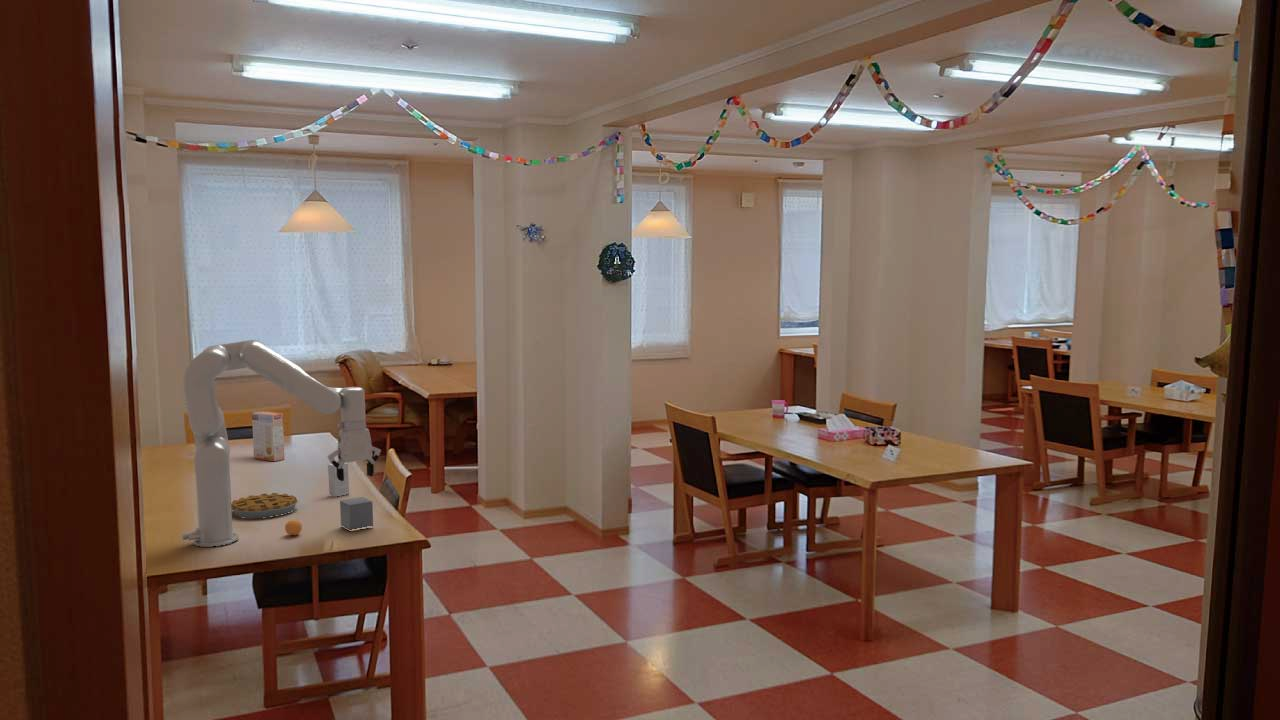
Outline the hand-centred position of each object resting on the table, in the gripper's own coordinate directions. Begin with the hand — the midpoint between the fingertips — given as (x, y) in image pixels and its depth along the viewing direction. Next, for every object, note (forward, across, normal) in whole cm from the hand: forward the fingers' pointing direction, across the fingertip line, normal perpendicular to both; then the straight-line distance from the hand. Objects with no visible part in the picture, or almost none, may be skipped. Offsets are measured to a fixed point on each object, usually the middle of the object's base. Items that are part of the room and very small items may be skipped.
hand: (355, 478), depth 306 cm
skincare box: (+16, +12, +47) cm, 51 cm away
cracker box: (+16, +13, +132) cm, 134 cm away
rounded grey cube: (+16, 0, 0) cm, 16 cm away
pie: (+17, -17, +40) cm, 47 cm away
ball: (+14, -19, +4) cm, 24 cm away
